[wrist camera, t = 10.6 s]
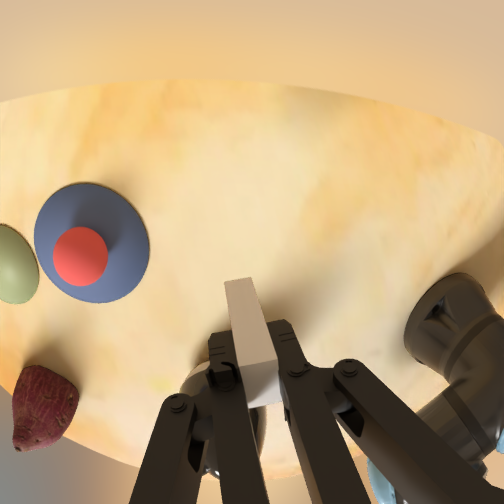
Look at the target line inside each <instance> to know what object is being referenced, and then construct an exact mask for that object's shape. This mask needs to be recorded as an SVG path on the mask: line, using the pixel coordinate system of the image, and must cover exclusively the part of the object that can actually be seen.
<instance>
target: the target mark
mask: <svg viewBox="0 0 504 504" xmlns="http://www.w3.org/2000/svg"><path fill="white" fill-rule="evenodd" d="M75 227H86V228H90V229H92V230H94V231H95V232H97V233H98V234H99V235H100V236H101V237H102V239H103V240H104V242H105V244H106V247H107V251H108V263H107V266H106V269H105V271H104V273H103V274H102V276H101V277H100V278H99V279H98V280H97V281H95V282H94V283H92V284H90V285H86V286H75V285H72V284H69V283H67V282H66V281H65V280H63V279H62V278H61V277H60V275H59V274H58V273H57V271H56V269H55V266H54V262H53V251H54V247H55V244H56V242H57V240H58V239H59V237H60V236H61V235H62V234H63V233H64V232H66V231H67V230H69V229H71V228H75ZM34 245H35V250H36V254H37V257H38V260H39V262H40V265H41V267H42V269H43V270H44V272H45V274H46V275H47V276H48V278H49V279H50V280H51V281H52V282H53V283H54V284H55V285H56V286H57V287H58V288H59V289H60V290H62V291H63V292H65V293H66V294H68V295H70V296H71V297H73V298H76V299H78V300H81V301H85V302H90V303H107V302H111V301H115V300H118V299H120V298H122V297H124V296H126V295H127V294H128V293H130V292H131V291H132V290H133V289H134V288H135V287H136V286H137V285H138V283H139V282H140V281H141V279H142V277H143V275H144V273H145V270H146V267H147V263H148V256H149V245H148V239H147V234H146V231H145V228H144V226H143V223H142V221H141V219H140V218H139V216H138V214H137V213H136V211H135V210H134V209H133V208H132V206H131V205H130V204H129V203H128V202H127V201H126V200H125V199H123V198H122V197H121V196H119V195H118V194H116V193H115V192H113V191H111V190H109V189H107V188H104V187H101V186H97V185H92V184H77V185H72V186H69V187H66V188H63V189H62V190H60V191H58V192H56V193H55V194H54V195H53V196H51V197H50V198H49V199H48V200H47V201H46V202H45V204H44V205H43V207H42V208H41V210H40V212H39V214H38V217H37V220H36V224H35V229H34Z"/></svg>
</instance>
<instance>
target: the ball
mask: <svg viewBox="0 0 504 504" xmlns="http://www.w3.org/2000/svg"><path fill="white" fill-rule="evenodd" d="M53 262H54V266H55V269H56V271H57V273H58V274H59V275H60V277H61V278H62V279H63V280H65V281H66V282H67V283H69V284H72V285H75V286H86V285H90V284H92V283H94V282H95V281H97V280H98V279H99V278H100V277H101V276H102V274H103V273H104V271H105V269H106V266H107V263H108V251H107V247H106V244H105V242H104V240H103V239H102V237H101V236H100V235H99V234H98V233H97V232H95V231H94V230H92V229H90V228H86V227H75V228H71V229H69V230H67V231H66V232H64V233H63V234H62V235H61V236H60V237H59V239H58V240H57V242H56V244H55V247H54V251H53Z"/></svg>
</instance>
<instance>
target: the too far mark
mask: <svg viewBox="0 0 504 504" xmlns="http://www.w3.org/2000/svg"><path fill="white" fill-rule="evenodd" d="M38 282H39V273H38V266H37V263H36V259H35V257H34V255H33V253H32V251H31V249H30V247H29V246H28V244H27V243H26V242H25V240H24V239H23V238H22V237H21V236H20V235H19V234H18V233H17V232H15V231H14V230H12V229H10V228H8V227H6V226H3V225H0V300H2V301H4V302H7V303H10V304H22V303H25V302H27V301H28V300H30V299H31V298H32V297H33V295H34V294H35V292H36V290H37V287H38Z"/></svg>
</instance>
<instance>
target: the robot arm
mask: <svg viewBox="0 0 504 504" xmlns="http://www.w3.org/2000/svg"><path fill="white" fill-rule="evenodd" d="M224 285H225V291H226V298H227V304H228V310H229V316H230V321H231V327H232V330H229V331H224V332H218V333H212V334H211V336H210V338H209V340H208V347H209V360H210V365H209V366H208V367H207V369H206V372H205V375H206V378H207V381H208V384H209V386H208V387H207V388H206V389H205V390H204V391H203V392H201V393H199V394H197V395H194V396H192V397H190V396H189V395H188V394H184V393H177V394H173V395H171V396H169V397H168V398H166V399H165V400H164V402H163V404H162V406H161V409H160V412H159V415H158V417H157V420H156V423H155V426H154V429H153V432H152V435H151V438H150V441H149V444H148V447H147V450H146V453H145V456H144V459H143V462H142V465H141V468H140V471H139V474H138V477H137V480H136V483H135V486H134V489H133V492H132V495H131V498H130V502H129V504H196V502H197V497H198V492H199V488H200V482H201V478H202V473H203V468H204V463H205V458H206V453H207V448H208V443H209V439H211V438H213V437H215V447H216V455H217V464H218V472H219V480H220V487H221V495H222V502H223V504H270V503H269V499H268V494H267V490H266V486H265V481H264V477H263V472H262V468H261V463H260V459H259V454H258V450H257V445H256V440H255V436H254V431H253V426H252V422H251V417H250V413H249V408H254V407H259V406H264V405H269V404H274V403H278V402H282V401H283V404H284V414H285V421H287V422H288V426H289V429H290V432H291V436H292V439H293V442H294V446H295V449H296V452H297V456H298V459H299V462H300V465H301V469H302V472H303V475H304V478H305V481H306V485H307V488H308V491H309V495H310V498H311V501H312V504H371V501H370V499H369V497H368V494H367V492H366V490H365V487H364V485H363V483H362V480H361V478H360V475H359V473H358V471H357V468H356V466H355V464H354V461H353V459H352V457H351V454H350V452H349V450H348V447H347V445H346V442H345V440H344V438H343V435H342V433H341V431H340V428H339V426H338V424H337V422H336V420H337V421H338V422H339V424H340V425H341V426H342V427H343V428H344V430H345V431H346V432H347V433H348V435H349V436H350V437H351V438H352V439H353V440H354V442H355V443H356V444H357V445H358V446H359V448H360V449H361V450H362V451H363V452H364V454H365V455H366V456H367V470H368V475H369V480H370V483H371V486H372V489H373V492H374V494H375V497H376V499H377V501H378V502H379V504H504V490H503V489H500V488H498V487H495V486H492V485H491V484H489V482H487V481H486V480H485V478H486V476H487V472H488V469H487V467H486V466H485V464H484V463H483V461H482V460H483V459H484V458H485V457H486V456H487V455H488V454H489V453H491V452H492V451H493V450H494V449H496V450H497V452H500V453H501V454H504V319H503V318H502V317H501V316H500V315H499V314H498V313H497V312H496V311H495V309H494V307H493V305H492V304H491V302H490V301H489V299H488V297H487V296H486V294H485V291H484V290H483V287H482V286H481V285H480V283H479V282H477V281H476V280H475V279H474V278H472V277H471V276H469V275H468V274H464V273H457V274H453V275H450V276H448V277H446V278H444V279H442V280H441V281H439V282H438V283H437V284H435V285H434V286H433V287H432V288H431V289H430V290H429V291H428V292H427V293H426V294H425V295H424V296H423V297H422V298H421V300H420V301H419V302H418V304H417V305H416V307H415V308H414V310H413V312H412V313H411V315H410V317H409V320H408V322H407V325H406V328H405V333H404V344H405V347H406V349H407V350H408V352H409V353H410V354H411V356H412V357H413V358H414V359H415V360H416V361H417V362H419V363H421V364H424V365H427V366H428V367H430V368H431V369H433V370H434V371H436V372H437V373H439V374H440V375H442V376H443V377H444V378H445V379H446V381H447V382H448V383H449V384H450V385H449V386H448V387H447V388H446V389H445V390H444V391H443V392H441V393H440V394H439V395H438V396H436V397H435V398H434V399H433V400H432V401H430V402H429V403H428V404H427V405H425V406H424V407H423V408H421V409H420V410H419V411H418V412H416V413H414V412H413V411H412V410H411V409H410V408H409V407H408V406H407V405H406V404H405V403H404V402H403V401H402V400H401V399H400V398H398V397H397V396H396V395H395V394H394V393H393V392H392V391H391V390H390V389H389V388H388V387H387V386H386V385H385V384H384V383H383V382H382V381H381V380H380V379H378V378H377V377H376V376H375V375H374V374H373V373H372V372H371V371H370V370H369V369H368V368H367V367H366V366H365V365H364V364H363V363H361V362H360V361H358V360H355V359H344V360H341V361H339V362H338V363H336V364H335V366H334V368H319V367H315V366H313V365H311V364H310V363H309V362H307V360H306V358H305V356H304V354H303V351H302V349H301V347H300V344H299V342H298V340H297V338H296V335H295V333H294V330H293V328H292V326H291V324H290V323H288V322H287V321H286V320H284V319H283V320H278V321H273V322H268V323H266V322H265V319H264V315H263V312H262V309H261V306H260V303H259V300H258V297H257V294H256V291H255V288H254V285H253V281H252V278H251V277H249V278H243V279H238V280H232V281H227V282H224Z"/></svg>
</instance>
